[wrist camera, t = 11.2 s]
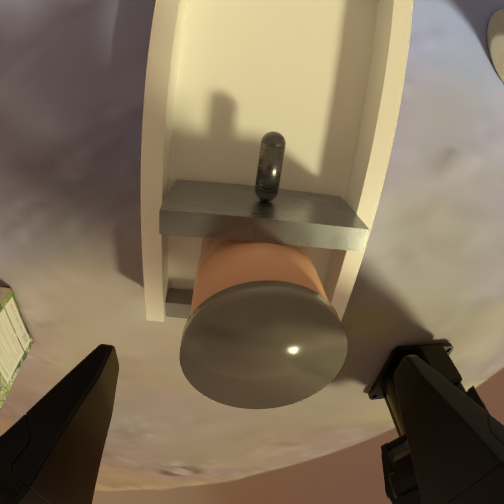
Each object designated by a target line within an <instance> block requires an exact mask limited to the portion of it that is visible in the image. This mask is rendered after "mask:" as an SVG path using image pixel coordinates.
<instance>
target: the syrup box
mask: <svg viewBox="0 0 504 504" xmlns="http://www.w3.org/2000/svg"><path fill="white" fill-rule="evenodd" d="M32 345H33V340H32V338H31V335H30V333H29V331H28V329H27V327H26V325H25V322H24V320H23V317H22V315H21V313H20V310H19V308H18V305H17V303H16V300H15V297H14V295H13V292H12V290H11V289H10V288H5V287H0V409H1V407H2V405H3V403H4V401H5V398H6V396H7V394H8V392H9V390H10V388H11V385H12V383H13V381H14V379H15V377H16V375H17V373H18V372H19V370H20V367H21V366H22V364H23V362H24V360H25V358H26V356H27V354H28V352H29V351H30V349H31V347H32Z"/></svg>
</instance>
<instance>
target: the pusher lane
mask: <svg viewBox="0 0 504 504" xmlns="http://www.w3.org/2000/svg"><path fill="white" fill-rule="evenodd" d="M412 10H413V0H156V3H155V9H154V15H153V22H152V28H151V36H150V44H149V52H148V61H147V70H146V81H145V92H144V106H143V122H142V144H141V238H142V261H143V278H144V292H145V304H146V315H147V320H150V321H159V322H164V321H165V317H166V316H168V317H178V318H189V317H190V311H191V304H192V298H193V292H194V286H195V279H196V274H197V268H198V262H199V256H200V250H201V245H202V240H203V238H201V237H188V236H176V235H163V234H159V209H160V208H161V206H162V204H163V202H164V200H165V199H166V197H167V195H168V193H169V192H170V190H171V188H172V186H173V185H174V183H175V181H176V180H191V181H204V182H216V183H228V184H239V185H249V186H255V182H256V175H257V167H258V160H259V152H260V145H261V140H262V137H263V136H264V135H265V134H266V133H268V132H272V131H275V132H278V133H280V134H281V135H282V136H283V137H284V139H285V142H286V146H285V152H284V159H283V165H282V171H281V178H280V184H279V189H286V190H295V191H303V192H311V193H319V194H326V195H333V196H340V197H342V198H343V199H344V201H345V202H346V203H347V204H348V205H349V206H350V207H351V209H352V210H353V211H354V212H355V213H356V214H357V215H358V217H359V218H360V219H361V220H362V221H363V222H364V224H365V225H366V226H367V227H368V228H369V230H370V231H369V234H368V238H367V241H366V245H367V242H368V239H369V235H370V232H371V228H372V225H373V221H374V218H375V214H376V210H377V206H378V203H379V199H380V195H381V191H382V187H383V183H384V179H385V175H386V171H387V166H388V162H389V158H390V153H391V149H392V144H393V139H394V134H395V129H396V124H397V119H398V114H399V108H400V103H401V97H402V91H403V85H404V78H405V72H406V65H407V57H408V49H409V41H410V32H411V22H412ZM366 245H365V248H364V251H363V252H361V251H350V250H339V249H328V248H317V247H306V248H307V250H308V252H309V255H310V257H311V260H312V262H313V264H314V267H315V269H316V272H317V274H318V277H319V279H320V282H321V284H322V287H323V289H324V292H325V294H326V297H327V299H328V301H329V302H330V304H331V305H332V306H333V307H334V309H335V310H336V312H337V314H338V316H339V318H340V321H342V318H343V315H344V312H345V310H346V307H347V304H348V301H349V298H350V295H351V292H352V289H353V286H354V283H355V280H356V277H357V274H358V271H359V268H360V265H361V262H362V258H363V255H364V252H365V249H366Z"/></svg>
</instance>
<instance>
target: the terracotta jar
mask: <svg viewBox="0 0 504 504" xmlns="http://www.w3.org/2000/svg"><path fill="white" fill-rule="evenodd" d="M347 350H348V341H347V337H346V333H345V331H344V328H343V326H342V323H341V321H340V318H339V316H338V314H337V312H336V310H335V309H334V307H333V306H332V305H331V304H330V302H329V301H328V299H327V297H326V294H325V292H324V289H323V287H322V284H321V282H320V279H319V277H318V274H317V272H316V269H315V267H314V264H313V262H312V260H311V257H310V255H309V252H308V250H307V248H306V246H295V245H284V244H272V243H261V242H249V241H237V240H225V239H213V238H203V240H202V245H201V250H200V256H199V262H198V268H197V274H196V279H195V286H194V292H193V298H192V304H191V311H190V317H189V318H188V320H187V322H186V325H185V327H184V331H183V335H182V341H181V347H180V364H181V368H182V371H183V373H184V375H185V377H186V378H187V380H188V381H189V382H190V384H191V385H192V386H193V387H194V388H195V389H196V390H198V391H199V392H200V393H202V394H203V395H205V396H207V397H208V398H210V399H212V400H214V401H217V402H219V403H222V404H225V405H229V406H233V407H238V408H246V409H267V408H275V407H281V406H285V405H289V404H293V403H295V402H298V401H301V400H303V399H305V398H308V397H310V396H311V395H313V394H315V393H317V392H318V391H320V390H321V389H323V388H324V387H325V386H326V385H327V384H329V383H330V382H331V381H332V380H333V379H334V378H335V376H336V375H337V374H338V372H339V371H340V370H341V368H342V366H343V364H344V362H345V359H346V356H347Z"/></svg>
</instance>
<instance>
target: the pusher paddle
mask: <svg viewBox="0 0 504 504" xmlns="http://www.w3.org/2000/svg"><path fill="white" fill-rule="evenodd" d="M285 146H286V142H285V139H284V137H283V136H282V135H281V134H280V133H278V132H275V131H272V132H268V133H266V134H265V135H264V136H263V137H262V140H261V145H260V152H259V160H258V167H257V175H256V182H255V186H249V185H239V184H228V183H216V182H204V181H191V180H176V181H175V183H174V185H173V186H172V188H171V190H170V192H169V193H168V195H167V197H166V199H165V200H164V202H163V204H162V206H161V208H160V209H159V234H163V235H176V236H188V237H201V238H213V239H225V240H237V241H249V242H261V243H272V244H284V245H295V246H306V247H317V248H328V249H339V250H350V251H361V252H363V251H364V248H365V245H366V241H367V238H368V234H369V231H370V230H369V228H368V227H367V226H366V225H365V224H364V222H363V221H362V220H361V219H360V218H359V217H358V215H357V214H356V213H355V212H354V211H353V210H352V209H351V207H350V206H349V205H348V204H347V203H346V202H345V201H344V199H343V198H342V197H340V196H333V195H326V194H319V193H311V192H303V191H295V190H286V189H279V184H280V178H281V171H282V165H283V159H284V152H285Z"/></svg>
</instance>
